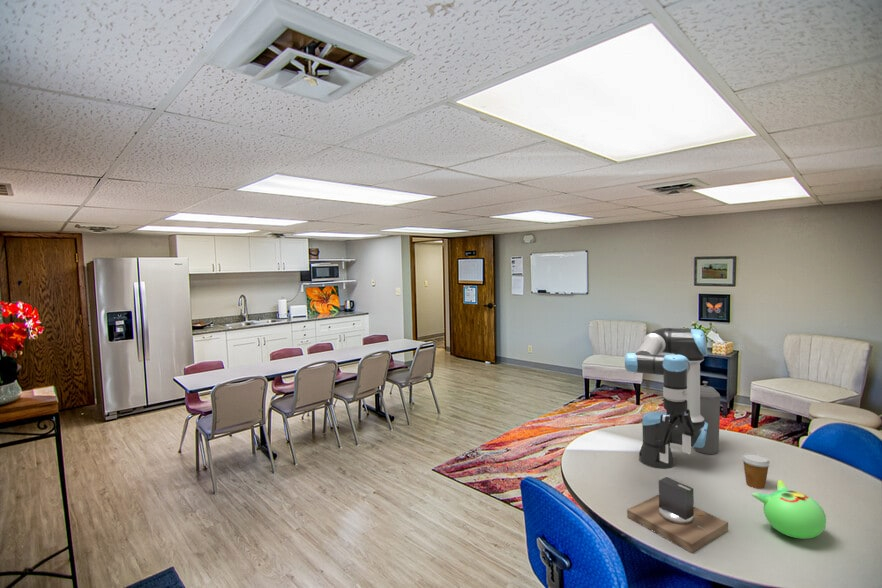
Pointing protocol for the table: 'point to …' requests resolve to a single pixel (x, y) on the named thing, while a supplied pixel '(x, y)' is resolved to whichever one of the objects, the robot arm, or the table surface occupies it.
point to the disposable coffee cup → (755, 470)
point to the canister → (710, 418)
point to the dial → (676, 501)
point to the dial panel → (679, 525)
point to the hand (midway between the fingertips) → (675, 457)
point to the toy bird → (793, 512)
